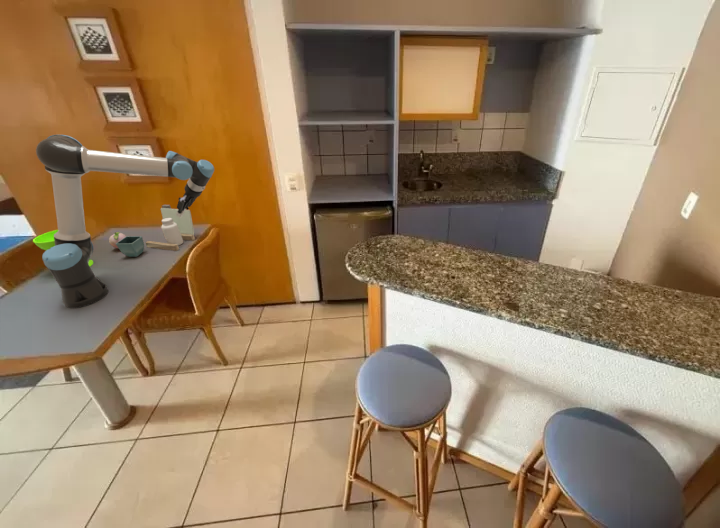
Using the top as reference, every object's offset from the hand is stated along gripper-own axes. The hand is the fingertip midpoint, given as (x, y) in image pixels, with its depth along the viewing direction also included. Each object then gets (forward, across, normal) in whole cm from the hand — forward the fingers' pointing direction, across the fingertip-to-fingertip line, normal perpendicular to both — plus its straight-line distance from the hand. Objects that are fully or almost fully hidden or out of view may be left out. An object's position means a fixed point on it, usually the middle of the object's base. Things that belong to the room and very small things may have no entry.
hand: (178, 215), depth 165 cm
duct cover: (+14, +8, +3) cm, 17 cm away
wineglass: (+42, -34, +16) cm, 56 cm away
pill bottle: (+19, 0, -6) cm, 20 cm away
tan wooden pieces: (+21, +3, -4) cm, 22 cm away
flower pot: (+28, -16, +2) cm, 32 cm away
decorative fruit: (+38, -12, +12) cm, 41 cm away
